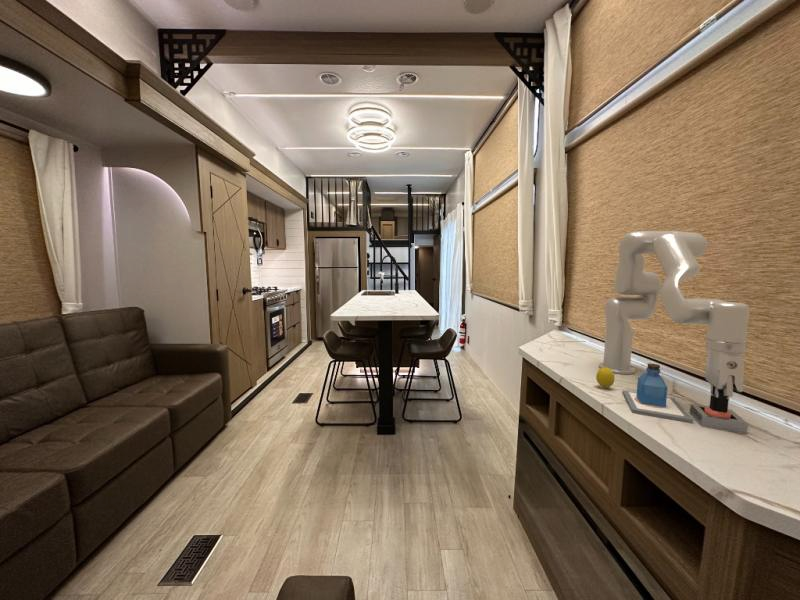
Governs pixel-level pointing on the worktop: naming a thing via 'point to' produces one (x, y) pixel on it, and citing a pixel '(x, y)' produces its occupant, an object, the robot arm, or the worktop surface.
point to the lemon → (605, 377)
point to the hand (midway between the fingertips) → (718, 410)
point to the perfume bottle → (652, 387)
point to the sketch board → (657, 408)
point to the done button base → (718, 420)
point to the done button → (717, 413)
